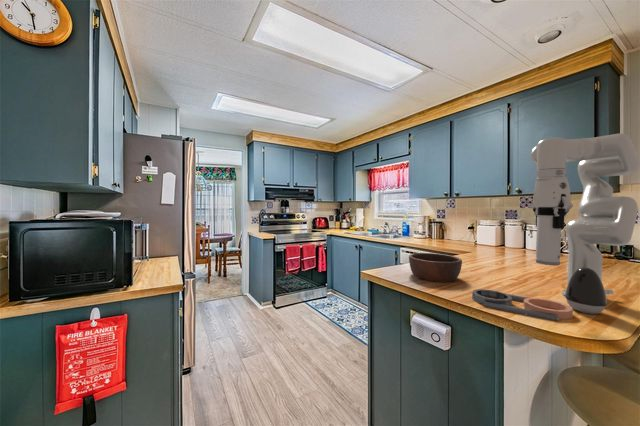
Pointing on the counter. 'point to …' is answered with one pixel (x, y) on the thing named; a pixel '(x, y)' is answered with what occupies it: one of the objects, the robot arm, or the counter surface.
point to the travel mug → (547, 238)
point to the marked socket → (561, 309)
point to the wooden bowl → (435, 266)
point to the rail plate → (506, 303)
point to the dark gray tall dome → (586, 292)
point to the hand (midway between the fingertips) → (549, 227)
